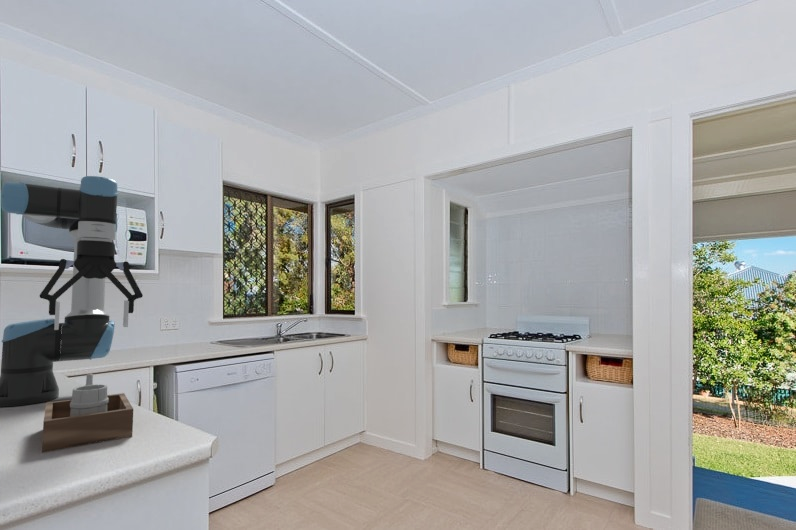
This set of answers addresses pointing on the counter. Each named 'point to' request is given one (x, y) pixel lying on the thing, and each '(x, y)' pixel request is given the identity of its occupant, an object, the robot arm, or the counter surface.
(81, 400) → the mug
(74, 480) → the counter surface
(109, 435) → the wooden box
